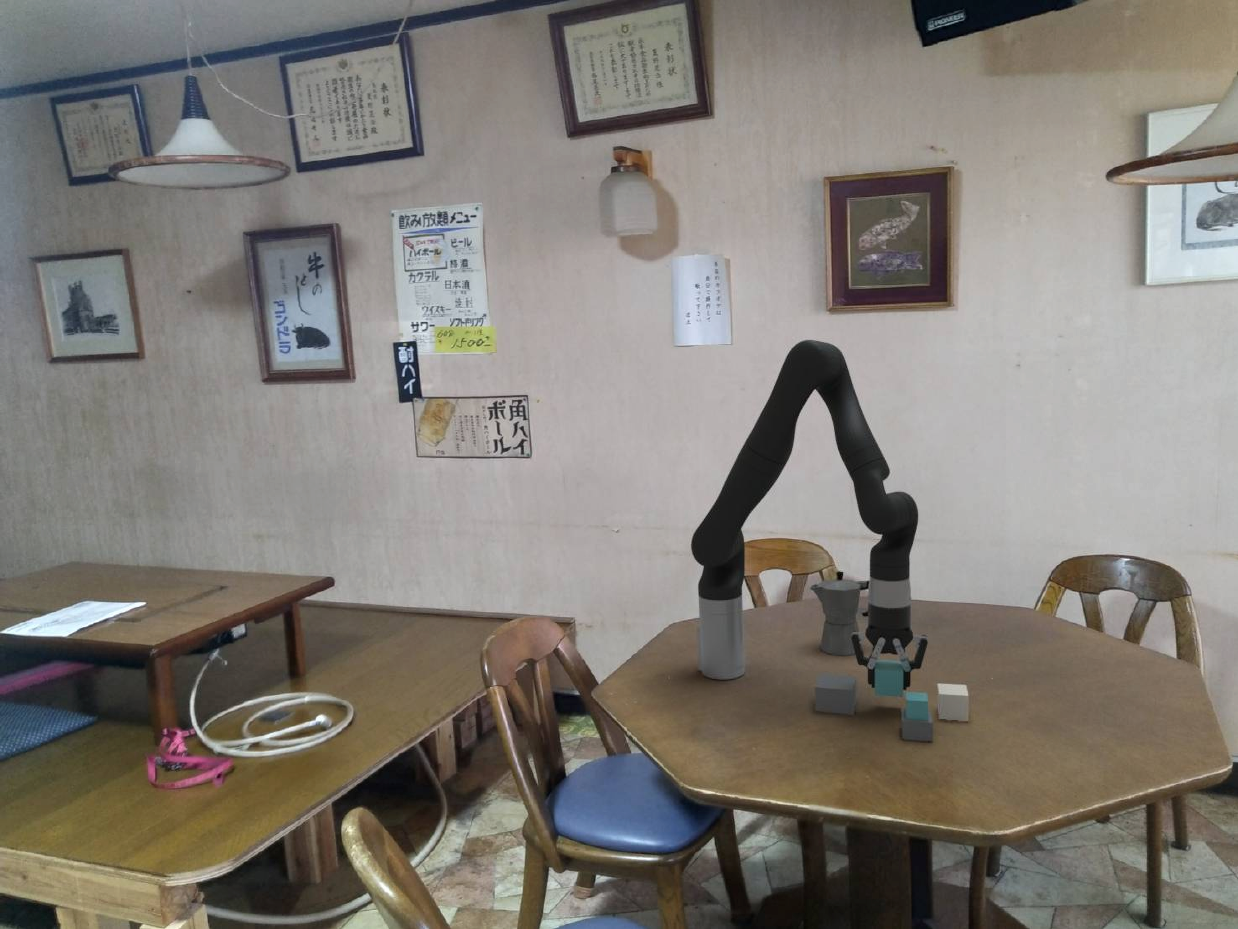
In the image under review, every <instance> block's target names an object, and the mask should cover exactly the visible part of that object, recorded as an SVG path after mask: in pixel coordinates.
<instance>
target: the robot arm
mask: <svg viewBox="0 0 1238 929" xmlns="http://www.w3.org/2000/svg"><path fill="white" fill-rule="evenodd" d="M814 391H816V392H817V394H818V395H819V396H820V397H821V399H822V401H823V402H824V404H825V405H826V407H827V409H828V412H829V414H830V417H831V421H832V425H833V432H834V438H835V439H834V440H835V444H836V446H837V451H838V452H839V453H838V454H839V455H840V458H841V460H842V462H843V464H844V466H845V469H846V470H847V472H848V474H849V477H850V478H851V480H852V483H853V484H852V485H853V488H854V489H853V490H854V495H855V499H856V503H857V509H858V513H859V516H860V518H861V520H862V522H863V524H864V525H865V527H866V528H867V529H868V530H870V531H871V532H872V533H874V534H877V535H881V538H880V540H879V541H878V542H876V544H875V545H873V546H872V547H871V549H870V553H869V580H868V581H869V586H868V589H867V591H868V594H867V599H868V600H867V611H868V617H867V621H868V622H867V628H866V629H865V630H864V631H859V632H857V631H853V632H852V637H851V639H852V643H853V647H854V651H855V654H854V655H855V658H856V662H857V664H858V665H859V666H864V667H866V668H867V684H868V685H871V688H872V689H875V664H876V661H877V660H879V657H880V655H887V654H891V655H893V656H894V655H896V656H898V659H899V661H901V663H902V666H903V691H907V688H910V687H911V680H912V679H911V676H912V674H911V672H912V671H913V670H920V669H921V668H922V665H923V661H924V657H925V653H926V650H927V647H928V643H929V642H928V637H927V635H926V634H922V635H919V634H914V633H913V631H912V629H911V620H912V619H911V615H912V614H911V613H912V612H911V608H912V607H911V606H912V604H911V602H912V589H911V579H910V577H911V576H910V574H911V573H910V568H911V566H910V564H911V563H910V562H911V558H910V554H911V551H912V548H913V546H914V541H915V537H916V534H917V528H918V525H919V524H918V523H919V510H918V506H917V502H916V501H915V499H914V498H913V497H912V496H911V495H910V494H909V493H907V492H905V491H893V492H888V493H887V492H886V488H885V484H884V481H886V480H887V479H888V478H889V476H890V475H891V474H890V473H891V471H890V470H891V469H890V467H889V465H888V462H887V460H886V458H885V455H884V454H883V452H882V450H881V449H880V448H881V447H880V446H879V444H878V442H877V440H876V438H875V436H874V434H873V433H872V430H871V428H870V426H869V424H868V422H867V419H866V417H865V414H864V412H863V410H862V407H861V404H860V402H859V399H858V396H857V393H856V389H855V387H854V384H853V381H852V377H851V374H850V370H849V367H848V364H847V362H846V359H845V356H844V354H843V352H842V351H841V350H840V349H839V347H837V346H836V345H834V344H831V343H830V342H826V341H825V342H824V341H820V340H814V339H804V340H802V341H799V342H798V343H796V344H795V345H794V346H792V348H791V349H790V350H789V352H788V353H787V355H786V357H785V359H784V362H783V364H782V365H781V368H780V371H779V374H778V376H777V379H776V381H775V383H774V385H773V387H772V391H771V392H770V395H769V397H768V400H767V401H766V403H765V405H764V407H763V409H762V410H761V411H760V415H759V416H758V418H757V420H756V422H755V424H754V426H753V428H752V430H751V431H750V433H749V435H748V436H747V438H746V439H745V441H744V444H743V446H742V447H741V449H740V450H739V452H738V454H737V457H736V458H735V461H734V463H733V465H732V467H731V469H730V470H729V473H728V475H727V477H726V479H725V481H724V483H723V486H722V487H721V490H720V493H719V494H718V496H717V498H716V500H715V501H714V503H713V505H712V506H711V508H710V509H709V511H708V513H706V515H705V517H703V518H704V519H702V521H701V523H700V524H699V526H698V527H697V528H696V529H695V530H694V533H693V535H692V537H691V542H690V543H691V544H690V550H691V553H692V556H693V559H694V560H695V561H696V562H697V564H699V565H700V566H702V567H703V569H702V573H701V576H700V578H699V580H698V584H697V591H698V592H697V593H698V610H699V611H698V613H699V626H697V628H696V642H697V643H696V645H697V665H698V666H697V669H698V671H701V674H702V675H703V676H704V677H707V678H709V679H712V680H721V681H722V680H732V679H737V678H740V677H741V676H743V675H744V674H745V671H746V667H745V639H744V638H745V636H744V610H743V609H744V606H743V605H744V604H743V585H744V584H743V583H744V580H745V572H746V571H745V570H746V566H745V565H746V564H745V562H746V560H745V559H746V558H745V557H746V547H745V538H744V533H743V530H742V528H743V527H744V524H745V523H746V521H747V519H748V518H749V516H750V514H751V513H752V512H753V511H754V509H756V508H757V506H758V505H759V504H760V502H761V501H762V500H763V499H764V498H765V497H766V496H767V495H768V493H769V491H770V490H771V488H773V487H774V485H775V483H776V482H777V480H778V479H779V477H780V475H781V474H782V472H783V470H784V469H785V467H786V465H787V464H788V461H789V460H790V458H791V455H792V453H793V448H794V443H795V434H796V428H797V423H798V419H799V416H800V415H801V412H802V410H803V409H804V407H805V405H806V403H807V402H808V400H809V398H810V397H811V395H812V394H813V392H814ZM865 638H867V640H868V641H869V643H870V644H871V646H872V649H871V651H870V654H869V657H866V656H865V655H864V654H865V653H864V650H863V646H861V644H862V645H863V644H864V642H865ZM912 641H913V642H914V646H915V647H916V651H915V656H914V659H912V660H910V659H909V657H908V654H907V653H908V652H907V650H906V648H907V647H908V645H909V644H910V643H912Z"/></svg>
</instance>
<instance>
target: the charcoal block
mask: <svg viewBox="0 0 1238 929" xmlns="http://www.w3.org/2000/svg"><path fill="white" fill-rule="evenodd" d="M817 677H818V678H817V679H816V683H815V686H814V701H815V702H814V706H815V707H814V708H815V710H814V711H815V712H816V711H821V712H820V713H827V712H828V713H829V714H837V713H839V715H849V716H854V714H855V710H856V706H855V705H857V700H858V698H857V694H858V692H857V689H858V688H857V687H858V686H857V685H858V684H857V676H855V675H845V674H831V673H822V672H821V673H820V672H819V674H818V676H817Z"/></svg>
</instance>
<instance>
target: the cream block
mask: <svg viewBox="0 0 1238 929" xmlns="http://www.w3.org/2000/svg"><path fill="white" fill-rule="evenodd" d="M969 705H970V704H969V691H968V687H967V685H966V684H955V683H937V714H939V715H938V720H939V719H946V720H945V721H951V720H958V721H957V722H966V721H968V722H969V716H970V715H969V709H970V708H969Z"/></svg>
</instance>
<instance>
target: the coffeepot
mask: <svg viewBox="0 0 1238 929" xmlns="http://www.w3.org/2000/svg"><path fill="white" fill-rule="evenodd" d="M835 575H836V578H834V579H833V578H832V579H826V580H821V582H819V583H816V584H813V585H811V586H810V587H809V590H812V591H813V593H814V594H815V595H816V597H817V598H818V600H819V601H820V603H821V608H822V613H823V614H824V616H825V618H824V623H823V629H822V634H821V635H822V636H821V641H820V642H821V644H820V650H822V651H823V652H824V653H826V654H828V655H832V656H838V657H848V656H853V655H856V654H855V651H854V647H853V643H852V639H851V637H852V632H853V631H857V632H860V630H859V623H858V621H857V616H856V615H857V614H858V610H859V603H860V595H861V591H865V590H868V586H869V580H857V581H855V580H853V579H847V578H844V571H836V572H835ZM861 615H862V616H863V617H864V618H865V617H867V618H868V610H867V611H865V612H861ZM862 645H863V644H861V646H862ZM862 647H863V646H862Z"/></svg>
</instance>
